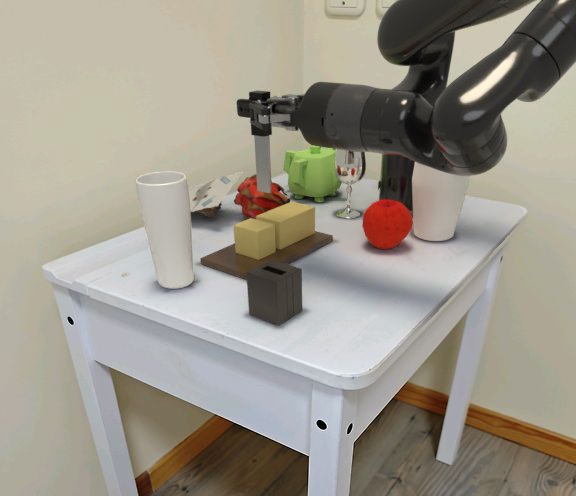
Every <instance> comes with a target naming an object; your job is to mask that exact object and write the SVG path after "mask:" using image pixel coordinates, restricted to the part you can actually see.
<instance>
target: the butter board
mask: <svg viewBox="0 0 576 496" xmlns="http://www.w3.org/2000/svg"><path fill="white" fill-rule="evenodd" d="M333 241H334V235H332V234H328V233H326V232H325V233H324V232H320V231H317V230H315V233H314V234H312V235H310V236H308V237H306V238H304V239H302V240H300V241H298V242H296V243H294V244H291V245H289V246H287V247H285V248H283V249H281V250H280V249H277V248H276V252H275V253H273V254H271V255H269V256H266V257H264V258H262V259H260V260H257V259H254V258H251V257H248V256H244V255H241V254H238V253H236V251H235V242H234V243H232V244H229V245H227V246H225V247H223V248H221V249H218V250H215V251H213V252H212V253H209V254H207V255H204V256H202V257H200V264H201V265H202V266H205V267H208V268H210V269H211V268H212V269H213V270H214V269H215V270H217V271H220V272H223V273H226V274H229V275H231V276H235V277H238V278H241V279H243V280H246V281H247V275H246V272H248V271H250V270H252V269H254V268H256V267H258V266H260V265H262V264H264V263H266V262H268V261H270V260H275V261H278V262H282V263H285V264H288V265H290V264H291V263H293V262H295V261H296V260H297V261H298V260H299V259H300V258H302V257H305V256H306V255H309V254H310V253H312V252H314V251H317V250H318V249H320V248H322V247H325V246H326V245H328V244H330V243H332V242H333Z"/></svg>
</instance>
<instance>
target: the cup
mask: <svg viewBox="0 0 576 496" xmlns="http://www.w3.org/2000/svg"><path fill="white" fill-rule="evenodd" d="M470 179H471V176H459V175H453V174H449V173H445V172H442V171H439V170H436V169H433V168H431V167H428V166H425V165H422V164H420V163H417V162H415V164H414V170H413V176H412V197H413V216H412V219H413V235H414V236H415V237H416V238H418V239H421V240H424V241H430V242H442V241H447V240H450V239H452V238H453V237H454V235H455V231H456V229H457V225H458V221H459V218H460V215H461V212H462V209H463V205H464V201H465V199H466V195H467V193H468V188H469V186H470Z"/></svg>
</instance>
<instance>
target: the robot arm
mask: <svg viewBox="0 0 576 496" xmlns="http://www.w3.org/2000/svg"><path fill="white" fill-rule="evenodd" d="M536 1H538V0H396V1H394V2H393V3H392V4H391V5H390V6H389V7H388V8H387V10H386V11H385V12H384V14H383V16H382V17H381V19H380V22H379V25H378V29H377V34H376V42H377V43H376V44H377V48H378V51H379V54H380V55H381V56H382V58H383V59H384V60H385V61H386V62H387V63H389V64H391V65H394V66H398V67H408V71H407V73H406V75H405V76H404V78H403V79H402V80H401V81H400V82H399V83H398V84H397V85H396V86H395V85H394V87H392V88H389V89H388V88H380V87H374V86H371V85H366V84H358V83H342V82H333V81H331V82H330V81H318V82H315V83H313V84H311V85H310V86H309V87H308V88H307V90H306V91H305V92H304V93H301V94H291V93H289V94H288V93H287V94H282V95H281V96H277V95H273V96H270V97H271V98H269V99H267V101H265V100H261V99H258V100H250V99H249V98H238V99H237V100H236V112H237V116H238V117H240V118H249V123H250V125H251V124H253V125H254V126H256V127H258V128H260V129H262V130H264V131H268V130H270V129H271V127H272V128H280V129H284V130H286V131H289V132H298V131H300V133H301V134H302V137H303V139H304V140H305V141H306V142H307V143H308V144H309V145H313V146H319V147H321V148H325V149H326V148H332V149H336V150H337V149H340V150H346V151H353V152H365V153H374V154H381V161H380V162H381V163H380V176H379V177H380V179H379V180H378V182H377V190H378V191H379V192H378V201H379V200H384V199H386V200H394V201H398V202H400V203H402V204H403V205H404V206H405V207H406V208H407V209H408V210H409V212H410V214H411V216H412V217H413V197H412V176H413V170H414V164H415V162H417V163H420V164H422V165H425V166H428V167H431V168H433V169H436V170H439V171H442V172H445V173H449V174H453V175H459V176H470V177H471V176H477V175H481V174H484V173H486V172H488V171H490V170H492V169H493V168H495V167H496V166H497V165H498V164H499V163H500V162H501V161H502V159H503V158H504V156H505V154H506V151H507V148H508V134H507V129H506V125H505V123H504V120H503V117H502V114H503V112H504V111H505V110H506V109H507V107H509V105H511V104H512V103H513V102H515V101H516V100H518V101H521V102H524V103H534V102H537V101H539V100H540V99H542V98H543V97H544V96H545V95H547V94H548V93H549V92H550V91H551V90H552V88H553V87H555V85H557V83H558V82H559V81H560V80H561V79H562V78H563V77H564V76H565V75H566V74H567V72H568V71H569V70H570V69H571V68H572V67H573V66H574V65H575V64H576V0H540V1H539V2H538V3H536V5H535V7H534V8H532V10H531V11H530V12H529V13H528V14H527V16H525V18H524V19H523V20H522V21H521V22H520V23H519V25H518V26H517V27H516V28H515V29H514V30H513V31H512V33H511V34H510V35H509V36H508V38H506V40H505V41H504V42H503V44H502V45H500V46H499V47H498V48H496V49H495V50H493V51H492V52H490V53H489V54H487V55H486V56H484V57H483V58H482V59H480V60H479V61H478V62H477V63H475V64H474V65H472V66H471V67H470V68H468V69H467V70H466V71H465V72H463V73H461V75H459V76H457V78H455V79H454V80H453V81H451V82H450V83H449V85H448V82H449V75H450V70H451V63H452V58H453V52H454V45H455V39H456V32H457V31H460V30H464V29H468V28H471V27H475V26H479V25H482V24H486V23H488V22H491V21H494V20H498V19H501V18H503V17H507V16H509V15H512V14H514V13H516V12H518V11H520V10H522V9H524V8H525V7H527V6H530V5H531V4H532V3H535V2H536Z"/></svg>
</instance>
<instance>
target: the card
mask: <svg viewBox="0 0 576 496" xmlns="http://www.w3.org/2000/svg"><path fill="white" fill-rule="evenodd" d="M243 173H244V170H242V171H239V172H236V173H231V174H228V175H223V176H218V177H214V178H211V179H208V180H206V181H203V182H200V183H197V184H194V185H191V186H190V185H188V190H189V198H190V208H191V213H199V214H202V215H204V216H205V217H207V218H212V217H214V216H215V214H216V213H217V211H219V210H221V208H222V207H221V206H223V203H222V201H223V200H224V199H225V197H226V196H227V195H228V194H229V192H230V190H231V189H232V188H233V186H234V185H235V183H236V182H237V181H238V179H239V178H240V176H241V175H242V174H243Z"/></svg>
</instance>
